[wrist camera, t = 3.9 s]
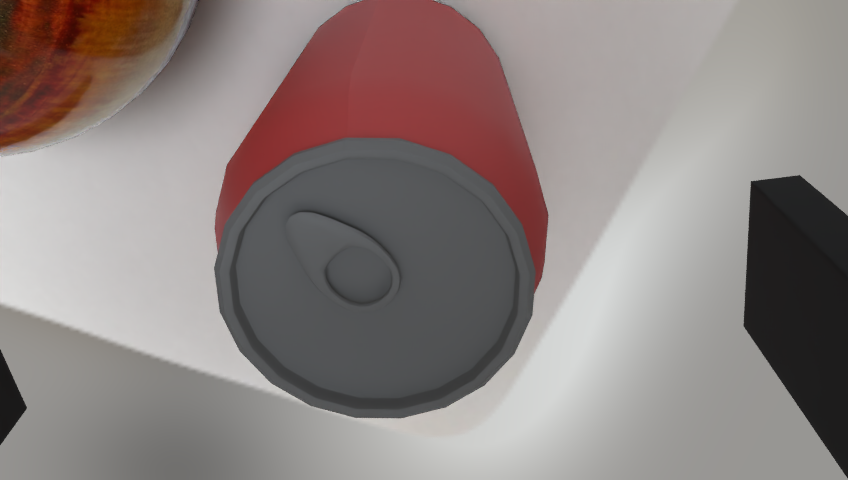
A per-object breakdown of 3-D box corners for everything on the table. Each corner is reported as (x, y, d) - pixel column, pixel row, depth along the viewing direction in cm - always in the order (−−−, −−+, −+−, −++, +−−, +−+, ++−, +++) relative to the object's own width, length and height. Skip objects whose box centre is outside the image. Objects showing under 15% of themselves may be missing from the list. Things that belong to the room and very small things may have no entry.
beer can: (399, -60, 22) (368, 17, 11) (550, 101, 24) (645, 298, 13) (250, 98, 24) (104, 292, 13) (401, 234, 26) (379, 498, 15)
